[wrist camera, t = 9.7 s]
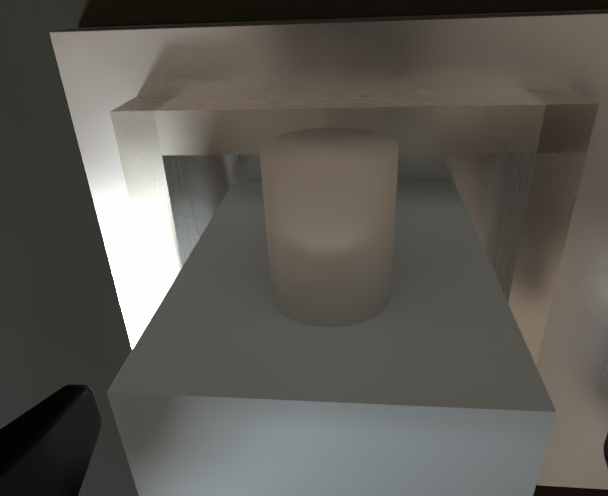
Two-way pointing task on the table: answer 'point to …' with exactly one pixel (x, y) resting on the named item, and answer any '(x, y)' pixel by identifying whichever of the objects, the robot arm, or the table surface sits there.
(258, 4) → the table surface
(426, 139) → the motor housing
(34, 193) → the table surface
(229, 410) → the grey block with cylinder
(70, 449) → the robot arm
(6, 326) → the table surface
